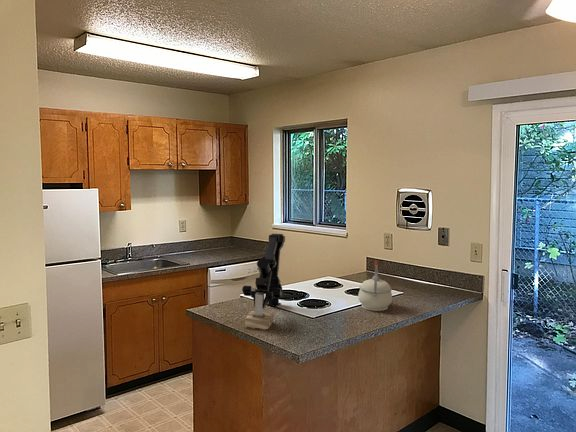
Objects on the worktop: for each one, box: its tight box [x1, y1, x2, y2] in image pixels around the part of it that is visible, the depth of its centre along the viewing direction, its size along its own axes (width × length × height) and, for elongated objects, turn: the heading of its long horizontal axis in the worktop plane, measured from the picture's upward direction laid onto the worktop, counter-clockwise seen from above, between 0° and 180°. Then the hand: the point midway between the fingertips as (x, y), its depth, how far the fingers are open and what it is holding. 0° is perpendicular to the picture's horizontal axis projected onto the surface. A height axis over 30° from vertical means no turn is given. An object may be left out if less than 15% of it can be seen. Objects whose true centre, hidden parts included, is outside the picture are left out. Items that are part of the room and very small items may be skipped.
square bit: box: [254, 292, 265, 318], centre depth 224 cm, size 4×4×13 cm
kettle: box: [357, 259, 393, 312], centre depth 258 cm, size 25×18×25 cm
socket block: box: [244, 310, 274, 330], centre depth 224 cm, size 11×11×4 cm
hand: (258, 307), depth 222 cm, fingers closed on square bit, 4 cm apart
